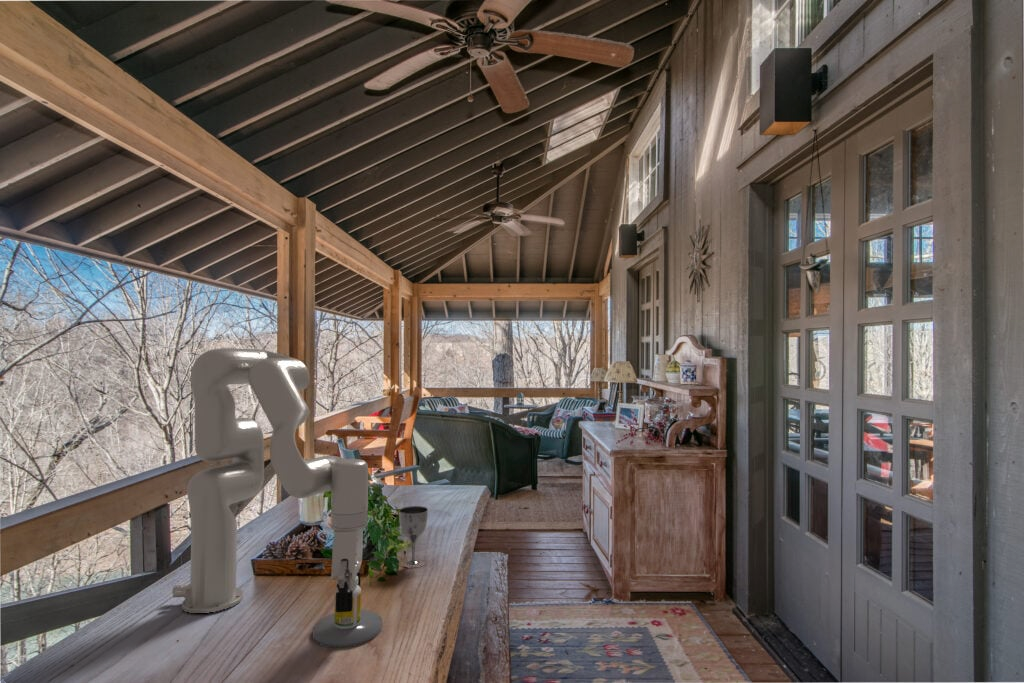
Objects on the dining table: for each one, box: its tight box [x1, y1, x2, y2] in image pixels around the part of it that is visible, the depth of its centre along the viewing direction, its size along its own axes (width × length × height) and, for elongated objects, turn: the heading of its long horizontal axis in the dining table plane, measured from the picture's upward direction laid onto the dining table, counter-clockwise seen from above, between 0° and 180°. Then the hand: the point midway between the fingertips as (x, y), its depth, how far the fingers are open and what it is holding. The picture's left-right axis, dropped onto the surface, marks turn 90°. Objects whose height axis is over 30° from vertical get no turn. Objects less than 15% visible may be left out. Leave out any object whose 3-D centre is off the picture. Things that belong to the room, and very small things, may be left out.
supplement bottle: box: [334, 574, 362, 629], centre depth 115 cm, size 5×5×10 cm
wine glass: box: [398, 505, 429, 565], centre depth 153 cm, size 8×8×15 cm
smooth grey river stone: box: [312, 609, 383, 649], centre depth 115 cm, size 14×14×1 cm
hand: (348, 600), depth 115 cm, fingers open, 9 cm apart
